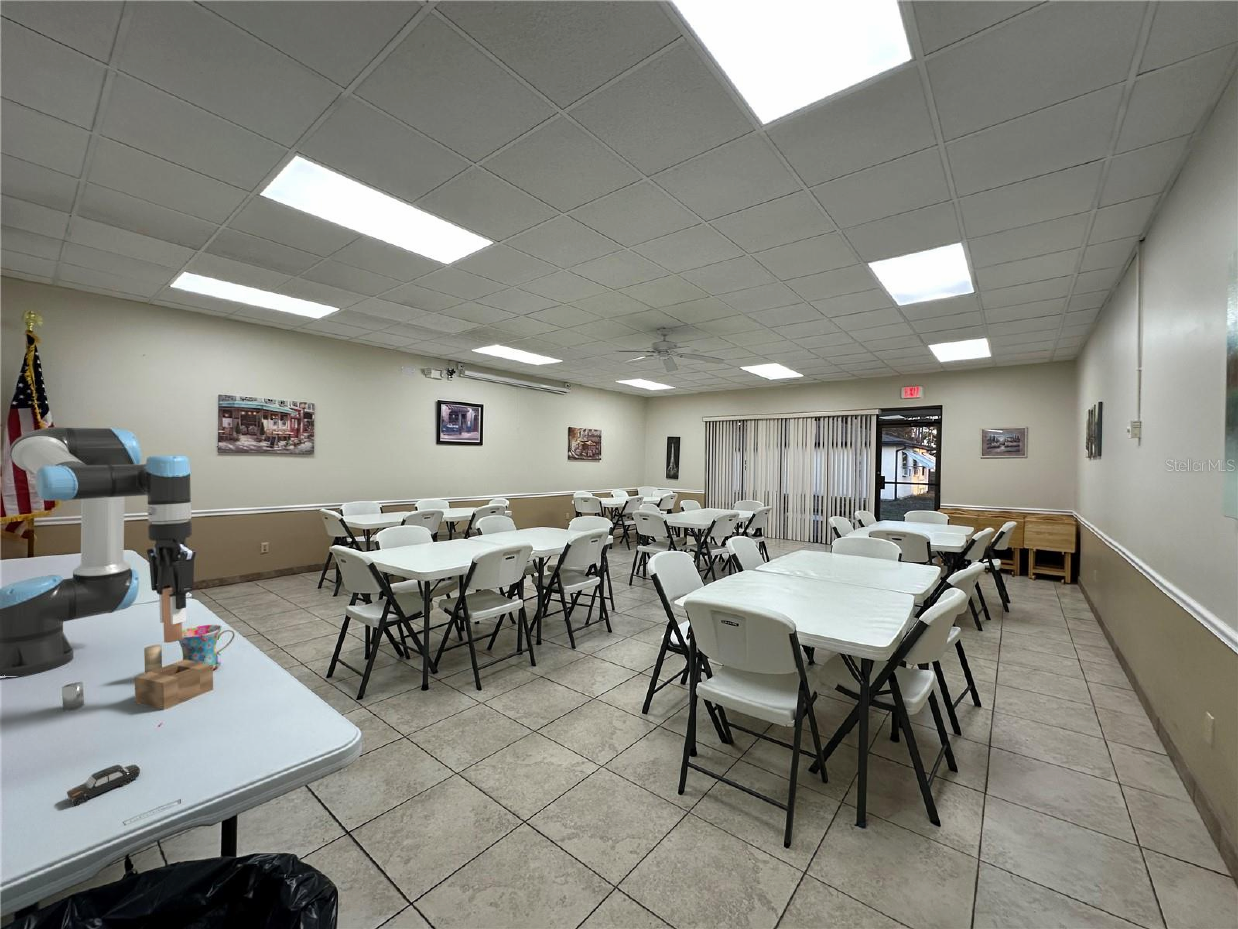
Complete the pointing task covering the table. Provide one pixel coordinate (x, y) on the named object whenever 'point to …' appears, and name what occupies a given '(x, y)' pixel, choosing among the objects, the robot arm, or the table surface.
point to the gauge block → (173, 684)
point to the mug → (202, 644)
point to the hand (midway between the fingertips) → (173, 621)
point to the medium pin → (153, 657)
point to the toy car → (103, 782)
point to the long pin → (170, 630)
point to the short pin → (72, 696)
